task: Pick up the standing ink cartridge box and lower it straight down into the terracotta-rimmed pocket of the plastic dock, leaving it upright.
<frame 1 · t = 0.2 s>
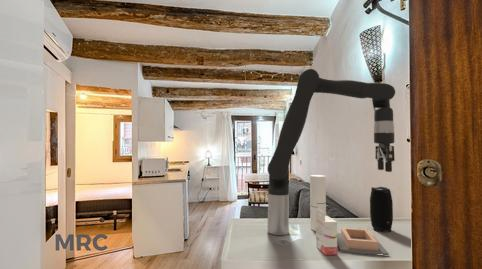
hand: (384, 170, 104), 29 cm above the worktop, tool pointing down, fingers open, 8 cm apart
cylindrical container: (318, 229, 117), on the worktop
portable speaker: (381, 230, 116), on the worktop
ink cartridge box: (326, 251, 93), on the worktop
dock: (358, 244, 98), on the worktop
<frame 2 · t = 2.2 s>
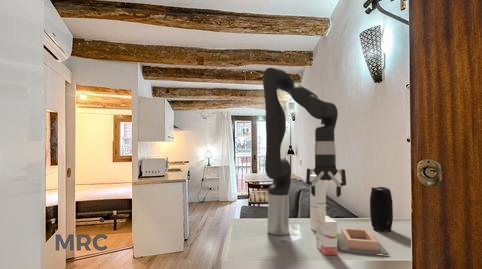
hand: (325, 196, 94), 20 cm above the worktop, tool pointing down, fingers open, 8 cm apart
nothing on the worktop moved.
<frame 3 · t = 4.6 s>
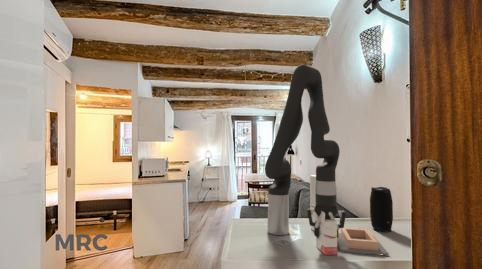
hand: (326, 237, 93), 5 cm above the worktop, tool pointing down, fingers closed on ink cartridge box, 6 cm apart
ink cartridge box: (326, 251, 93), on the worktop, touching gripper
everything else where it was.
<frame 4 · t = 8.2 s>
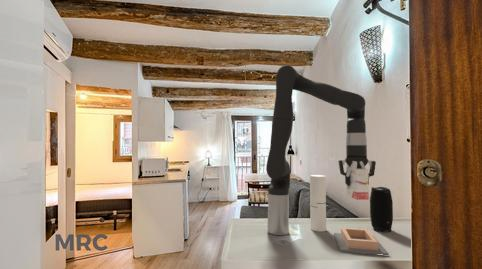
hand: (356, 186, 100), 23 cm above the worktop, tool pointing down, fingers closed on ink cartridge box, 6 cm apart
ink cartridge box: (357, 198, 99), point 18 cm above the worktop, touching gripper
everything else where it was.
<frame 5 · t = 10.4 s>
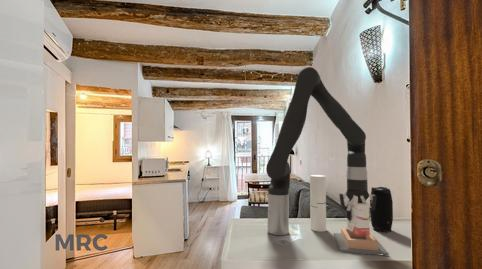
hand: (357, 220, 99), 9 cm above the worktop, tool pointing down, fingers closed on ink cartridge box, 5 cm apart
ink cartridge box: (358, 232, 99), point 5 cm above the worktop, touching gripper
everything else where it was.
when the fingers open (7 cm above the worktop, at t = 12.0 s): ink cartridge box drops 1 cm, resting on dock.
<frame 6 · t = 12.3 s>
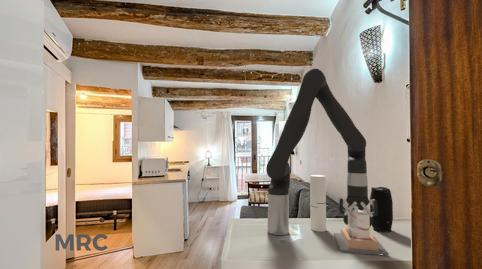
hand: (357, 225, 99), 8 cm above the worktop, tool pointing down, fingers open, 8 cm apart
ink cartridge box: (358, 242, 98), point 1 cm above the worktop, touching dock
everything else where it was.
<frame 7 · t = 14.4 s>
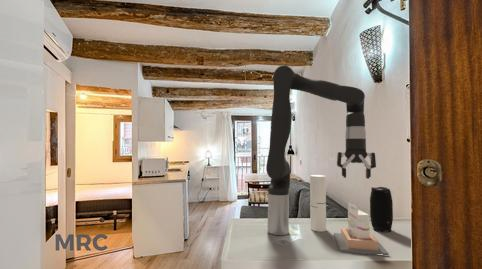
hand: (356, 178, 100), 26 cm above the worktop, tool pointing down, fingers open, 8 cm apart
nothing on the worktop moved.
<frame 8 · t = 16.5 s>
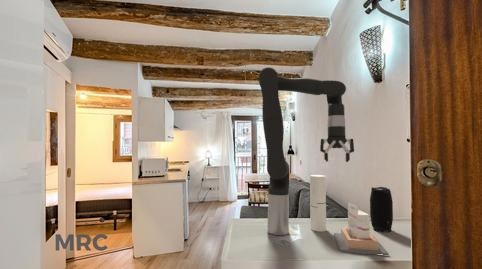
hand: (336, 161, 112), 32 cm above the worktop, tool pointing down, fingers open, 8 cm apart
nothing on the worktop moved.
at the end: ink cartridge box 0.2 cm off-centre on the dock, point 0.8 cm above the dock's base; ink cartridge box tilted 0°; the gripper is holding nothing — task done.
